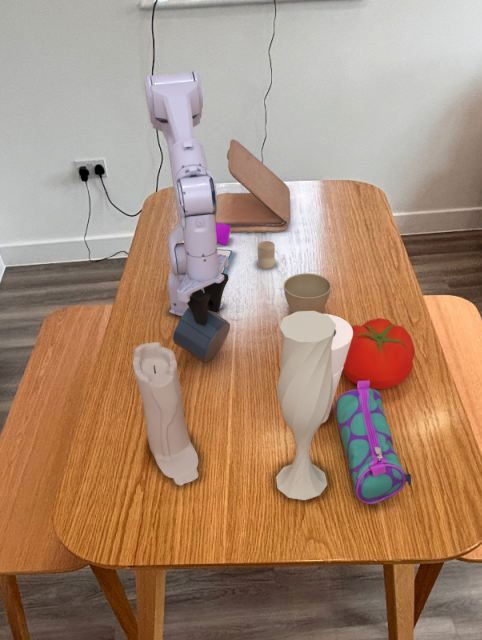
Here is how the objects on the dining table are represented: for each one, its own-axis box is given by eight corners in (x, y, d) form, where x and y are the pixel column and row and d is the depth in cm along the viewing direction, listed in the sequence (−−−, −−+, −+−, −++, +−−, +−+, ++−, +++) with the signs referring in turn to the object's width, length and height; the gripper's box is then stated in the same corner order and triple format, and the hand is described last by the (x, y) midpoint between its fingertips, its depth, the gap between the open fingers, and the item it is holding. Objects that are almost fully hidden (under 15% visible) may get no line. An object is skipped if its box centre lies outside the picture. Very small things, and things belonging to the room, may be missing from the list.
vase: (274, 464, 110) (272, 310, 87) (322, 460, 111) (333, 305, 88) (279, 502, 105) (279, 348, 82) (330, 498, 105) (344, 343, 82)
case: (290, 233, 164) (291, 167, 152) (208, 234, 165) (203, 168, 152) (290, 197, 177) (291, 134, 165) (214, 198, 178) (210, 135, 166)
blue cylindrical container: (200, 371, 127) (169, 350, 128) (223, 347, 132) (193, 327, 133) (212, 330, 118) (179, 309, 119) (237, 306, 123) (205, 286, 124)
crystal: (228, 235, 164) (227, 217, 160) (232, 245, 160) (231, 227, 157) (208, 238, 163) (206, 220, 160) (212, 248, 160) (210, 230, 156)
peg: (255, 266, 153) (254, 246, 150) (263, 259, 156) (262, 239, 152) (269, 270, 152) (269, 250, 148) (277, 263, 154) (277, 243, 151)
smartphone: (233, 250, 157) (221, 280, 147) (233, 254, 158) (221, 285, 148) (203, 248, 158) (189, 278, 148) (203, 253, 159) (190, 283, 149)
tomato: (348, 406, 120) (353, 362, 112) (328, 354, 130) (331, 311, 123) (422, 397, 121) (431, 353, 113) (396, 346, 131) (403, 303, 124)
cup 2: (278, 427, 116) (279, 344, 103) (296, 392, 123) (299, 308, 109) (335, 440, 114) (343, 356, 100) (350, 403, 120) (360, 319, 106)
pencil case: (406, 505, 103) (416, 463, 96) (352, 510, 103) (357, 468, 96) (378, 420, 117) (385, 377, 110) (330, 424, 117) (334, 382, 109)
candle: (169, 489, 107) (151, 396, 92) (145, 438, 115) (124, 344, 100) (209, 476, 109) (198, 382, 94) (182, 427, 117) (168, 333, 102)
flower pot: (326, 330, 136) (328, 299, 130) (279, 325, 137) (279, 295, 132) (332, 304, 142) (334, 274, 137) (287, 300, 144) (287, 270, 138)
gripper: (198, 273, 107) (205, 342, 117) (241, 236, 115) (244, 303, 125) (163, 264, 109) (173, 332, 120) (208, 228, 117) (213, 294, 128)
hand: (207, 317), depth 123 cm, fingers closed on blue cylindrical container, 4 cm apart
